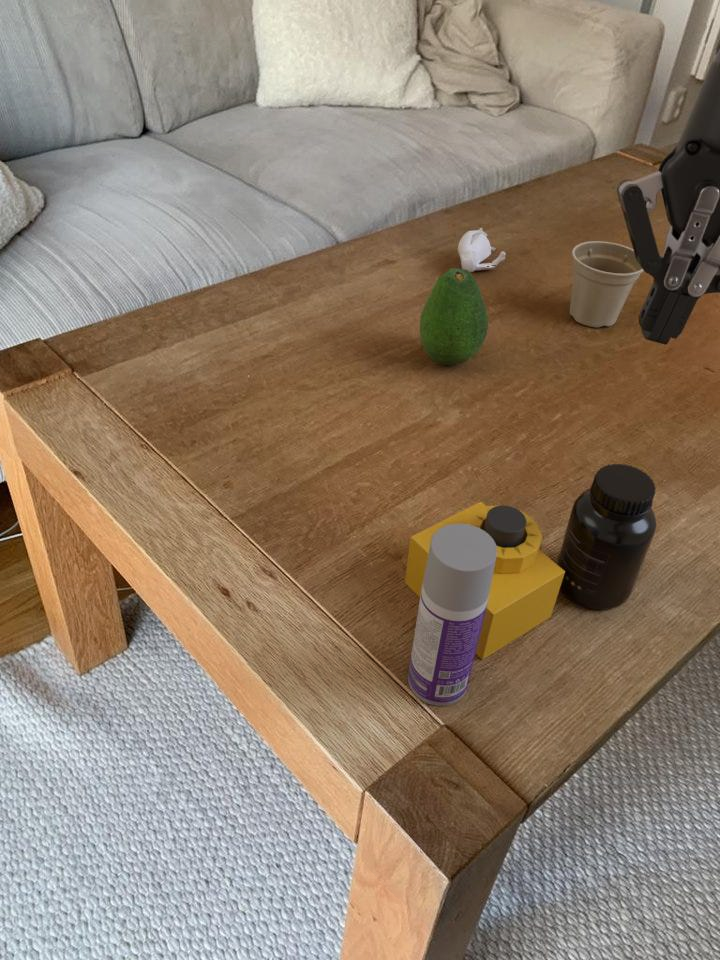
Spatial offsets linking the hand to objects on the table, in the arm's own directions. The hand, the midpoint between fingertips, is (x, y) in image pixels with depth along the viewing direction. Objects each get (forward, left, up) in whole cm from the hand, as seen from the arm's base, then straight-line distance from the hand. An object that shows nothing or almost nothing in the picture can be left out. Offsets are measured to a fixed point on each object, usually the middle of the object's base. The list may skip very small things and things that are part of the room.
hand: (653, 338), depth 58 cm
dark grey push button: (+3, +8, -17) cm, 19 cm away
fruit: (+33, -13, -25) cm, 43 cm away
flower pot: (+31, -37, -25) cm, 54 cm away
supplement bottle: (-2, 0, -25) cm, 25 cm away
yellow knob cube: (+3, +10, -24) cm, 26 cm away
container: (-2, +18, -25) cm, 30 cm away
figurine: (+50, -34, -25) cm, 65 cm away
